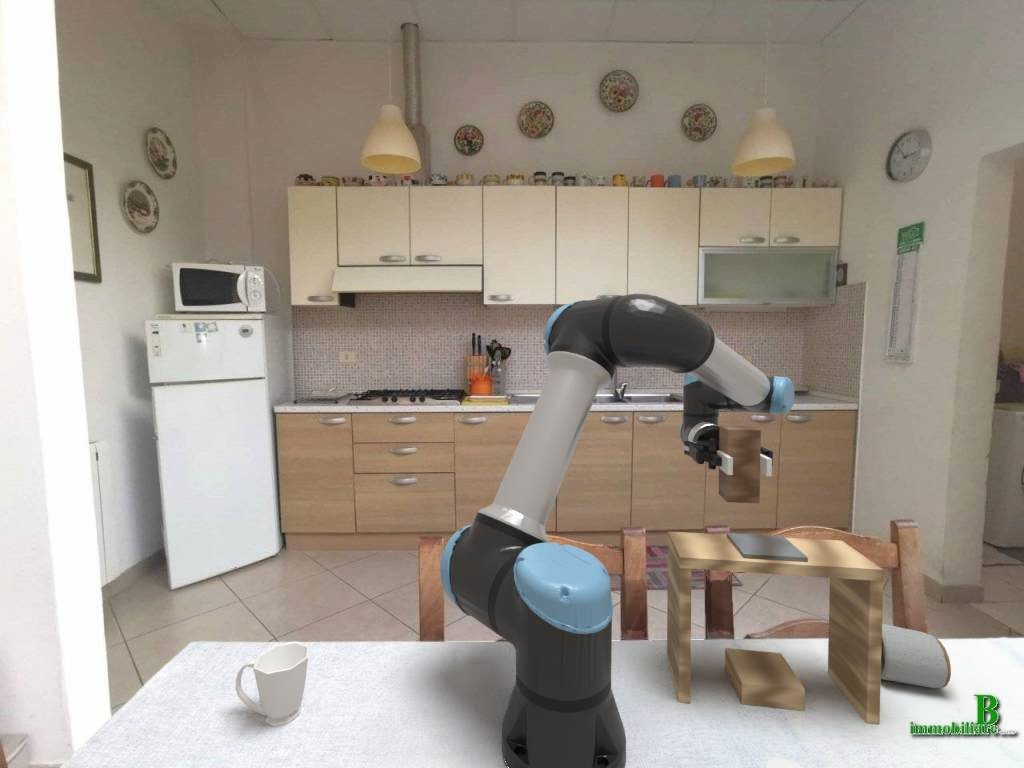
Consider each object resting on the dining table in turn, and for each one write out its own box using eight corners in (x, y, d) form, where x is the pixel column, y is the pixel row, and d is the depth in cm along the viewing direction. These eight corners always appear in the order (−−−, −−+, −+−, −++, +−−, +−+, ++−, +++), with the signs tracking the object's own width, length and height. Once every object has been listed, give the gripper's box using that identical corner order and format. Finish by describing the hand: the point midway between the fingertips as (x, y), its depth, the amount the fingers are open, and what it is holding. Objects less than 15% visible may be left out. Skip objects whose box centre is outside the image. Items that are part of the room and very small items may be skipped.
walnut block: (726, 502, 76) (727, 429, 76) (718, 493, 81) (719, 425, 80) (759, 503, 75) (760, 430, 75) (749, 495, 80) (750, 426, 80)
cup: (295, 736, 59) (293, 674, 58) (220, 732, 59) (218, 671, 59) (321, 696, 66) (320, 641, 65) (253, 694, 66) (252, 639, 66)
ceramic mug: (955, 702, 64) (956, 648, 64) (884, 690, 66) (885, 637, 66) (914, 657, 74) (915, 610, 74) (854, 648, 76) (855, 602, 76)
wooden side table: (678, 702, 64) (680, 553, 63) (667, 657, 74) (668, 527, 73) (879, 724, 60) (883, 565, 59) (838, 673, 70) (841, 536, 69)
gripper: (757, 462, 94) (812, 493, 71) (665, 459, 97) (689, 488, 74) (758, 425, 94) (813, 444, 71) (665, 424, 97) (689, 442, 74)
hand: (749, 467), depth 73 cm, fingers closed on walnut block, 5 cm apart
